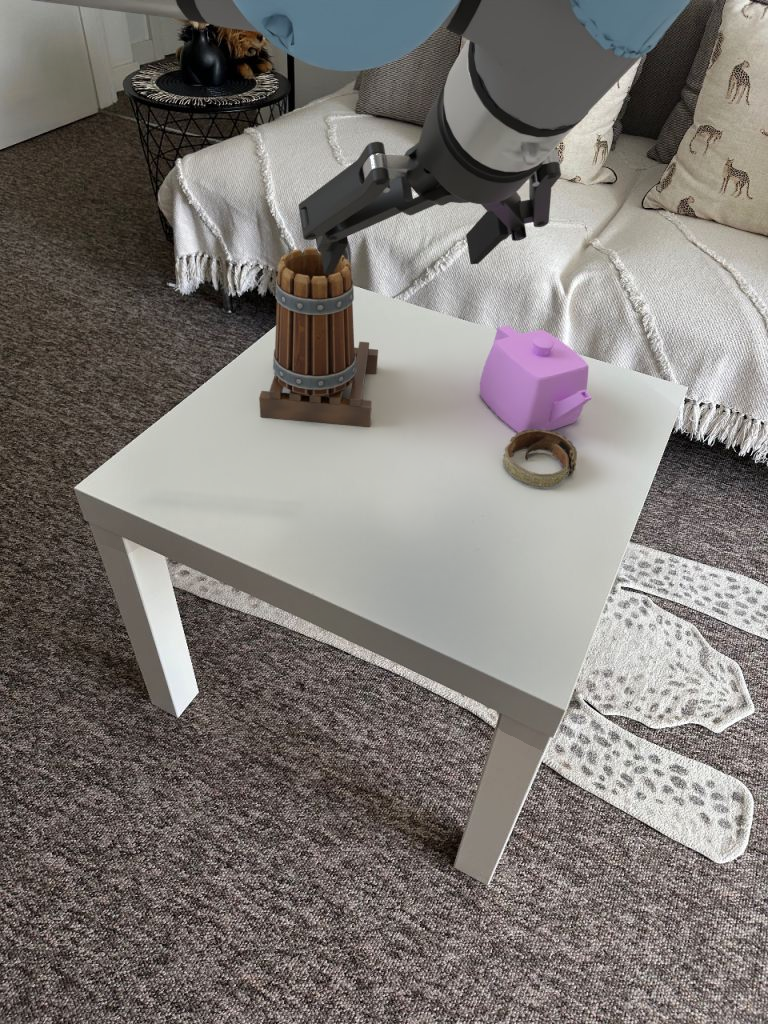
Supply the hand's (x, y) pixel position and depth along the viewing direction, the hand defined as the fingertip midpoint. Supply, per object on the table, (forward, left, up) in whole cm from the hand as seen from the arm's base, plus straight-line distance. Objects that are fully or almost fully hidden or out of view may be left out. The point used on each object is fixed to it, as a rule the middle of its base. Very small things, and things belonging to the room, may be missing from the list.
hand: (401, 253), depth 63 cm
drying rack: (-9, +19, -28) cm, 35 cm away
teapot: (+19, +19, -28) cm, 39 cm away
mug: (-9, +19, -24) cm, 32 cm away
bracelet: (+19, +7, -28) cm, 34 cm away
